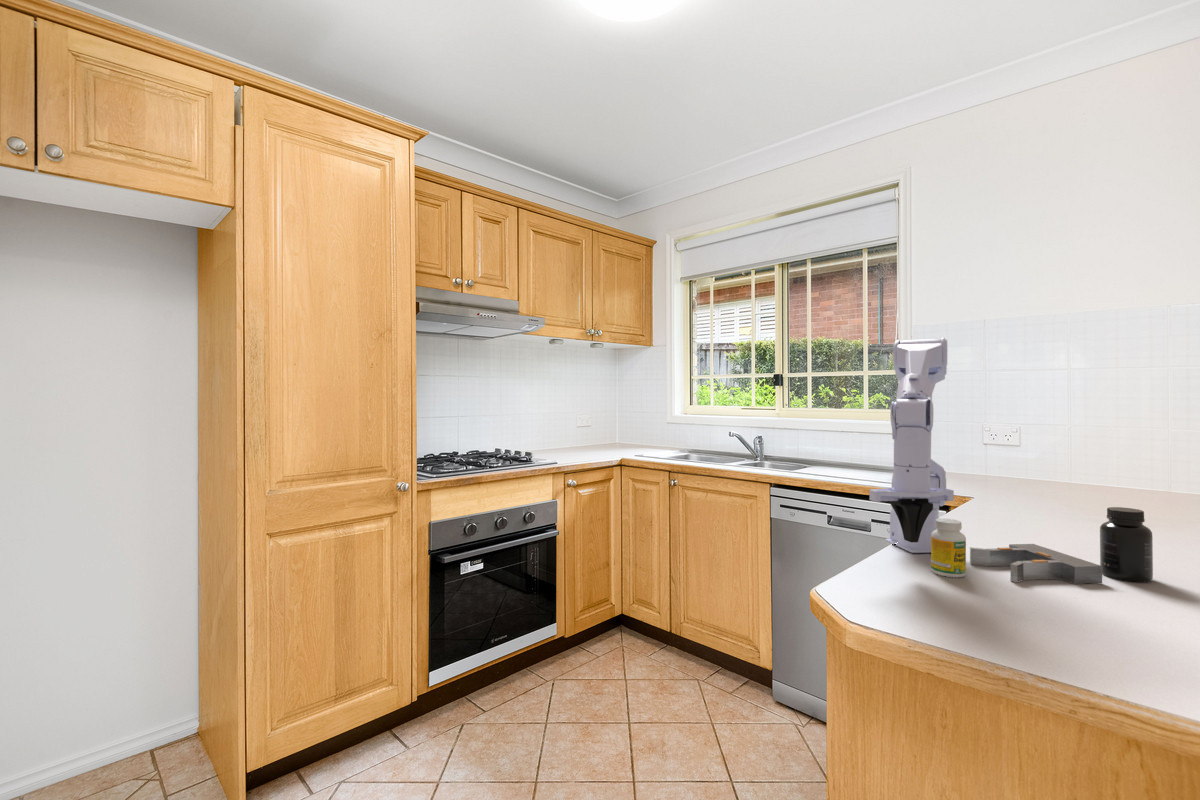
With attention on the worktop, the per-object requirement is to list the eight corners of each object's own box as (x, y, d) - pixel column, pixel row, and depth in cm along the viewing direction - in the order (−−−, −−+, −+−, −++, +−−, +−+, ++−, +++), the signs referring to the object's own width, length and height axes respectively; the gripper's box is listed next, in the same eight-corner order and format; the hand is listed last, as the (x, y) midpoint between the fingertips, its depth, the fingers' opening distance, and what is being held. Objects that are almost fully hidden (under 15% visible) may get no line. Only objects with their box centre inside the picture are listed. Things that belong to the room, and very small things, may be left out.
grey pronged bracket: (962, 560, 108) (962, 544, 108) (1033, 559, 109) (1033, 542, 109) (1021, 585, 94) (1021, 566, 94) (1102, 583, 95) (1102, 564, 95)
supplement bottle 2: (1130, 571, 102) (1131, 505, 102) (1164, 584, 95) (1165, 514, 95) (1089, 570, 102) (1090, 505, 102) (1120, 582, 96) (1121, 513, 95)
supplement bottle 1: (939, 567, 104) (940, 516, 104) (971, 574, 100) (971, 521, 100) (925, 572, 101) (925, 519, 101) (957, 580, 97) (957, 525, 97)
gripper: (885, 468, 96) (884, 547, 96) (966, 468, 96) (965, 546, 97) (863, 463, 103) (862, 537, 103) (938, 463, 104) (938, 535, 104)
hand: (911, 540), depth 100 cm, fingers closed
